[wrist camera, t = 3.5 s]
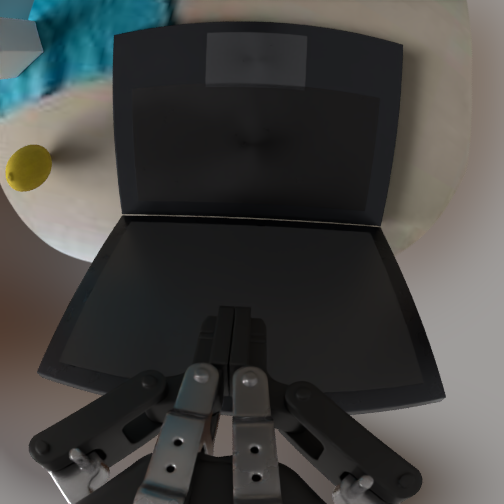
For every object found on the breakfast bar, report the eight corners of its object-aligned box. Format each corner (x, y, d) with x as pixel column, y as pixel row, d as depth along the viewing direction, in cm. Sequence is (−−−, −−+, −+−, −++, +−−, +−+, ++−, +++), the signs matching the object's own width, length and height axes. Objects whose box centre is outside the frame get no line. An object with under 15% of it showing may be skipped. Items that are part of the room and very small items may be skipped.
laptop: (121, 37, 24) (113, 35, 22) (396, 46, 24) (403, 44, 22) (127, 208, 34) (121, 214, 33) (375, 220, 34) (381, 226, 32)
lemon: (69, 157, 31) (30, 175, 24) (51, 187, 33) (14, 209, 26) (45, 130, 29) (4, 144, 22) (28, 161, 31) (-10, 180, 24)
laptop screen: (35, 371, 16) (41, 377, 17) (447, 396, 16) (441, 401, 17) (122, 214, 33) (123, 220, 33) (380, 226, 32) (378, 232, 33)
